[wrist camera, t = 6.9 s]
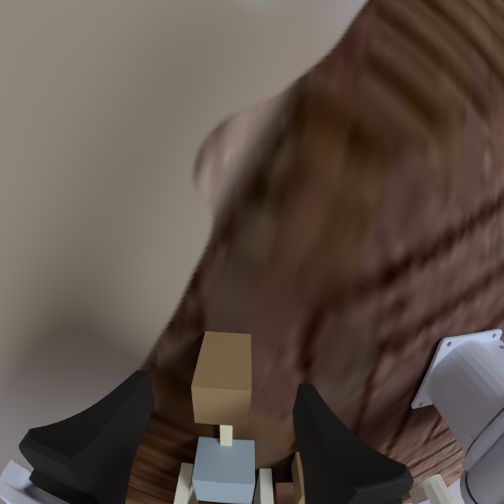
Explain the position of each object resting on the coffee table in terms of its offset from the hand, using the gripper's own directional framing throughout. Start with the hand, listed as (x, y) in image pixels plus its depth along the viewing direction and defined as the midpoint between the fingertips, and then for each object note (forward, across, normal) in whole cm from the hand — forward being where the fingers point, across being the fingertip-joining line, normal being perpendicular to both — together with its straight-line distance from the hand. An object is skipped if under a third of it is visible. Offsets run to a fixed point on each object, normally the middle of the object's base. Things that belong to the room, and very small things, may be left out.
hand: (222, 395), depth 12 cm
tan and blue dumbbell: (+6, 0, +9) cm, 11 cm away
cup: (+7, -34, +35) cm, 49 cm away
